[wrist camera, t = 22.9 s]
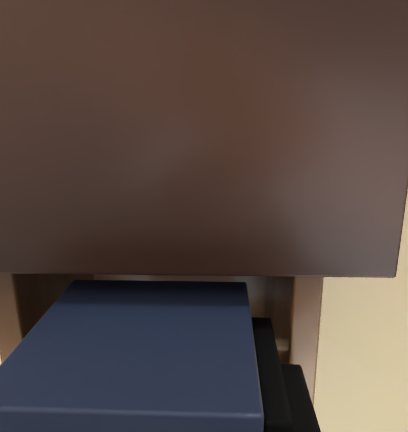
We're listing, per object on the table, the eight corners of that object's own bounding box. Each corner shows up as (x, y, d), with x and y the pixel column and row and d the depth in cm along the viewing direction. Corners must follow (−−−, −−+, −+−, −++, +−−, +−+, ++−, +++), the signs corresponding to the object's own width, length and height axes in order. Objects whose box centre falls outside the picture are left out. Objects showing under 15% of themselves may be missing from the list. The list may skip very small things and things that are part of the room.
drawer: (285, 452, 20) (318, 634, 13) (90, 445, 21) (22, 617, 14) (307, 80, 15) (377, 58, 8) (49, 84, 16) (-88, 66, 9)
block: (246, 280, 11) (264, 416, 6) (243, 424, 12) (256, 628, 8) (73, 278, 11) (-40, 407, 6) (89, 419, 13) (5, 613, 8)
